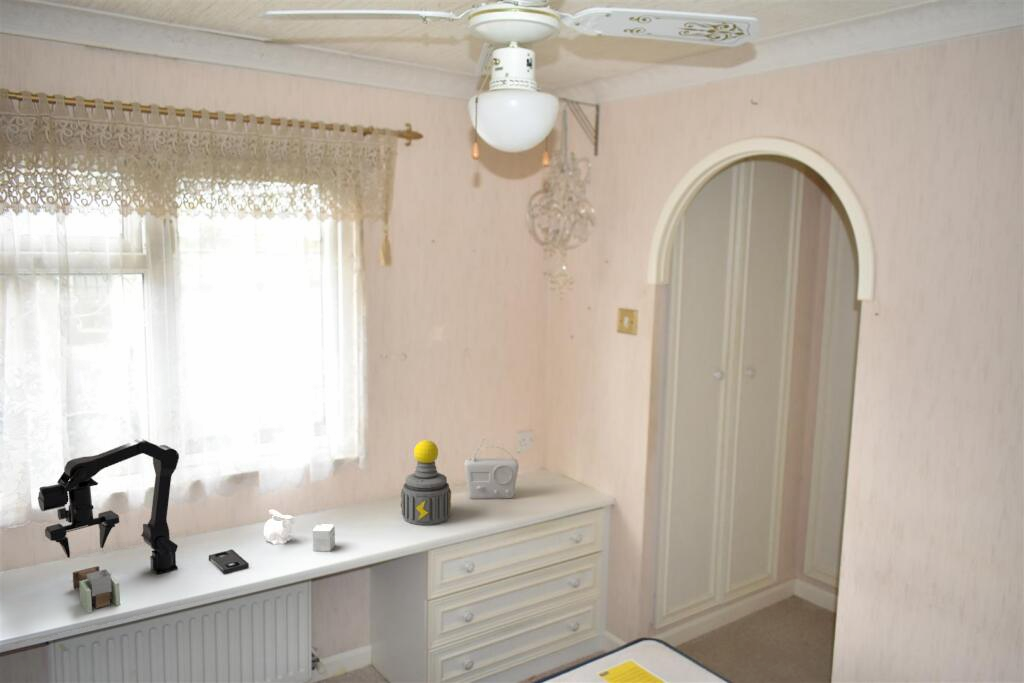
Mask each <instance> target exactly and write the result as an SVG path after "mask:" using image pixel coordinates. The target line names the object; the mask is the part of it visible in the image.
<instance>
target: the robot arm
mask: <svg viewBox="0 0 1024 683" xmlns="http://www.w3.org/2000/svg"><path fill="white" fill-rule="evenodd" d="M142 454H143V455H146V456H148V457H151V458H152V464H153V469H154V473H155V480H154V487H153V488H154V489H153V496H152V503H151V504H152V505H151V515H150V519H149V521H148V522H147V523H142V532H141V535H140V536H141V537H142V538H143V541H144V543H145V544H146V545H148V547H150V548H151V549H152V550H151V555H150V557H149V558H150V561H149V562H150V569H151V570H152V571H154V574H156V575H159V574H163V573H166V572H171V571H174V570H178V569H179V567H178V566H177V559H176V553H177V550H178V547H179V545H178V544H177V543H175V541H172V540H171V539H170V528H169V525H168V520H167V518H168V517H167V516H168V509H169V502H170V492H171V491H170V490H171V485H172V484H171V483H172V476H173V475H174V472H175V471H176V469H177V467H178V463H179V459H180V454H179V452H178V451H177V450H176V449H174V448H172V447H170V446H168V445H167V444H166V445H165V444H161V445H158V444H155V443H152V442H149V441H148V440H146V439H144V438H136V439H134V440H133V441H130V442H127V443H125V444H121V445H119V446H117V447H114V448H111V449H108V450H106V451H104V452H102V453H99V454H96V455H90V456H81V457H77V458H73V459H71V460H68V461H67V462H66V464H65V465H64V471H63V473H62V474H61V476H60V477H59V478H58V480H57V482H56V484H54V485H52V484H51V485H48V486H46V485H45V486H41V487H39V492H38V497H37V501H38V502H37V503H38V506H39V509H40V511H41V512H48V511H50V510H55V509H57V518H58V520H59V521H61V520H64V519H65V522H67V523H68V525H64V526H63V525H62V524H61V523H57V524H56V523H55V524H53V525H48V526H46V527H45V529H44V535H45V537H46V538H47V539H48V540H49V541H52V542H53V541H55V542H56V543H59V545H60V546H61V548H62V550H63V551H64V553H65V555H66V557H67V558H68V559H69V558H70V557H71V551H70V545H69V538H68V537H67V533H70V532H73V531H74V532H75V531H77V530H81V529H85V528H89V527H92V526H97V525H98V528H99V547H100V549H103V548H104V547H105V544H106V541H107V539H108V536H109V534H110V533H111V530H112V529H113V528H115V527H116V525H117V524H119V523H120V516H119V514H118V513H116V512H115V511H113V510H111V509H110V510H107V511H106V510H105V511H102V512H99V513H98V515H97V516H98V517H94V512H93V511H94V505H93V501H92V490H91V487H94V486H97V485H98V484H99V483H98V482H97V481H96V480H94V479H93V477H95V476H96V475H97V474H98V473H99V472H101V471H102V470H104V469H106V468H109V467H111V466H114V465H116V464H118V463H121V462H123V461H127V460H128V459H132V458H134V457H136V456H139V455H142ZM68 503H69V505H68ZM66 505H68V509H66V507H65V506H66Z"/></svg>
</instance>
